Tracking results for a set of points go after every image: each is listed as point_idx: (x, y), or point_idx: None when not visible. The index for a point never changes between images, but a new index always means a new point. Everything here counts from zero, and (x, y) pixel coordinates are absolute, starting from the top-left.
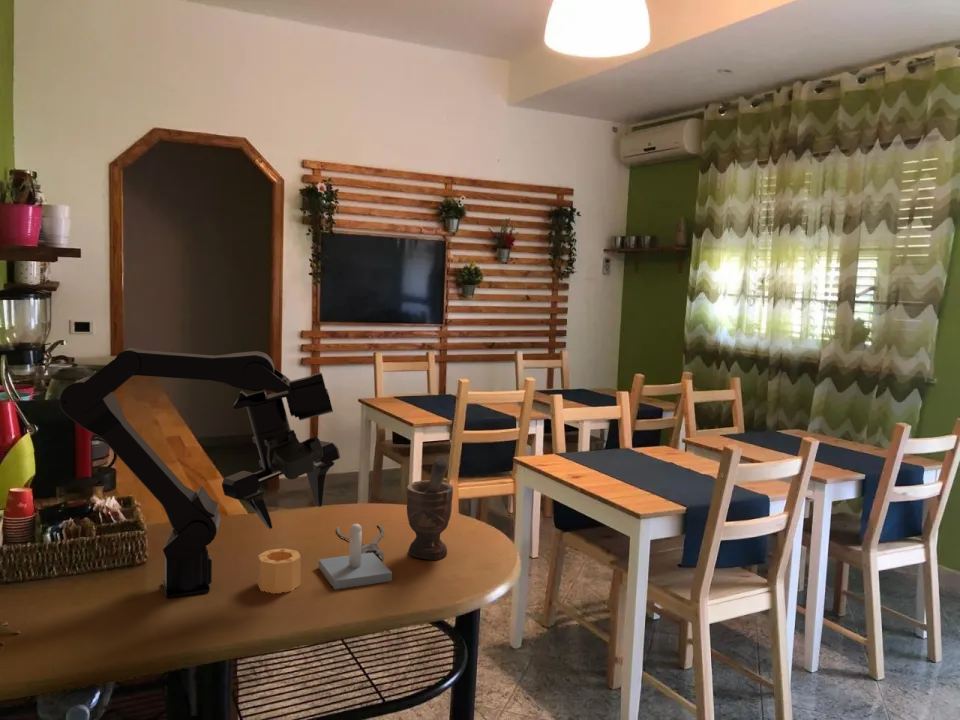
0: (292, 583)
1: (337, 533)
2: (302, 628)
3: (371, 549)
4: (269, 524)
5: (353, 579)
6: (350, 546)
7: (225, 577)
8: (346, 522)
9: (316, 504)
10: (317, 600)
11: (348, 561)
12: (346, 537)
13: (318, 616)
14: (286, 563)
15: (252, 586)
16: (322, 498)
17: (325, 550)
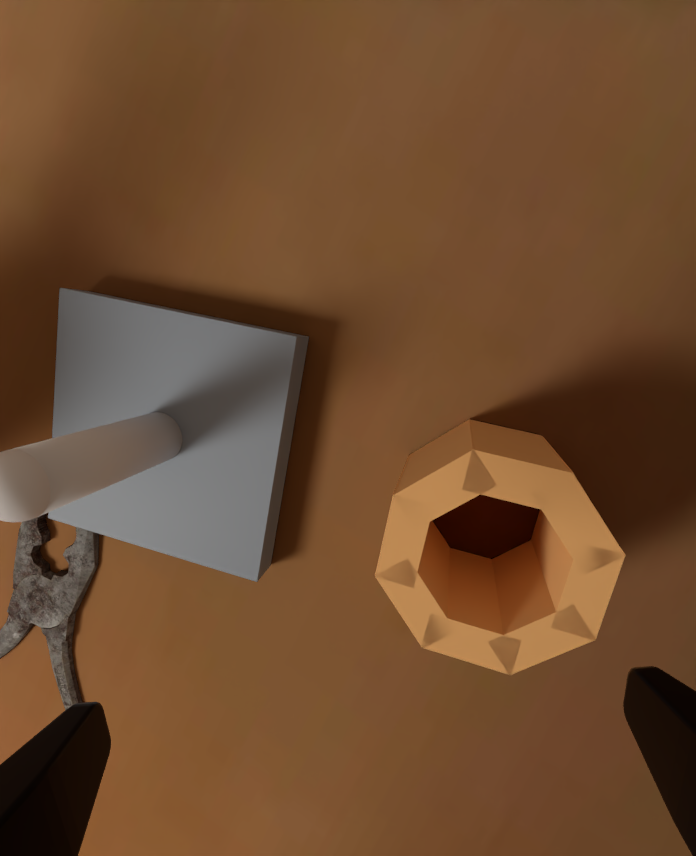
0: (463, 429)
1: None
2: (622, 16)
3: (40, 579)
4: (688, 696)
5: (219, 320)
6: (119, 458)
7: None
8: None
9: (106, 761)
10: (418, 274)
11: (163, 491)
12: None
13: (494, 110)
14: (507, 455)
15: None
16: (3, 762)
17: (181, 687)
